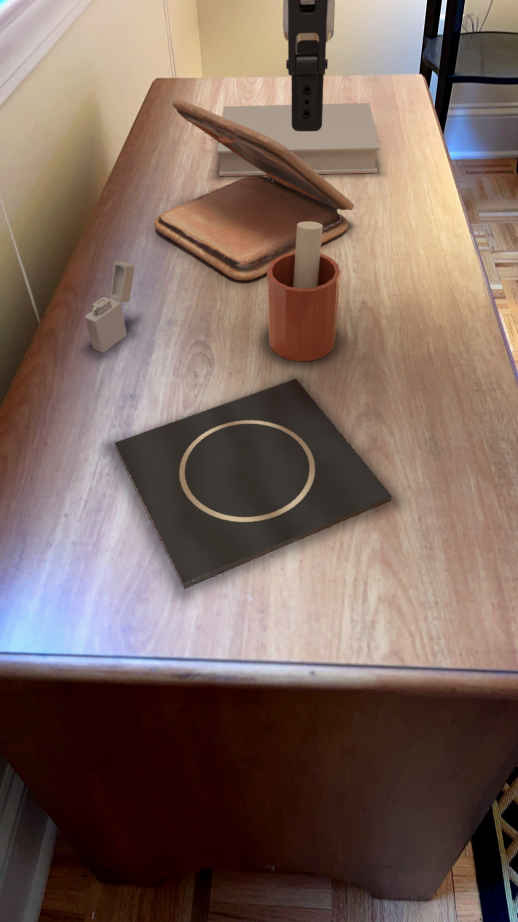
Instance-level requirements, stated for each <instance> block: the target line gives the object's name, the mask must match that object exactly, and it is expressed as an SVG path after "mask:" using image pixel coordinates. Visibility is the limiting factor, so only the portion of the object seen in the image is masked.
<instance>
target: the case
mask: <svg viewBox="0 0 518 922" xmlns="http://www.w3.org/2000/svg"><path fill="white" fill-rule="evenodd" d="M172 106H173V108H174V110H176V111H177V113H178V114H179V116H181V117H182V118H183V119H184V120H185V121H187V122H188V123H191V124H192V125H193V126H195V127H196V128H197V129H199V130H201V132H203V133H204V134H206V135H208V136H209V137H211V138H212V139H213V140H215V141H217V143H218V144H219V143H221V144H222V145H224V146H225V147H227V148H228V149H229V150H231V151H232V152H234V153H235V154H237V155H238V156H240V157H241V158H243V159H244V160H246V161H247V162H248V163H250V164H251V165H253V166H255V167H256V168H258V169H260V170H261V171H263V172H265V173H266V174H267V175H266V176H264V175H247V176H246V177H243V178H240V179H238V180H236V181H233V182H231V183H228V184H226V185H223V186H222V187H219V188H217V189H214V190H212V191H210V192H207V193H205V194H202V195H199V196H198V197H196V198H193V199H192V200H189V201H187V202H184V203H182V204H180V205H177V206H174V207H172V208H170V209H167V210H165V211H164V212H162V213H161V214H159V215H158V216H157V217H156V218H155V220H154V222H153V223H154V228H155V230H156V231H158V232H159V233H160V234H161V235H163V236H165V237H166V238H168V239H170V240H171V241H172V242H174V243H175V244H177V245H179V246H181V247H182V248H184V249H186V250H187V251H189V252H190V253H192V254H194V255H195V256H197V257H199V258H200V259H201V260H202V261H204V262H206V263H207V264H208V265H210V266H212V267H214V268H215V269H216V270H218V271H219V272H221V273H223V274H224V275H225V276H227V277H229V278H231V279H233V280H237V281H251V280H255V279H257V278H260V277H262V276H264V275H266V274H267V269H268V267H269V265H270V264H271V262H272V261H273V260H275V259H276V258H278V257H279V256H281V255H284V254H288V253H291V252H295V250H296V234H297V224H298V223H300V222H307V221H309V222H317V223H320V224H322V226H323V228H322V240H321V245H322V244H324V243H326V242H328V241H331V240H332V239H334V238H335V237H338V236H339V235H342V234H343V233H344V232H345V231H346V230H347V229H348V228H349V221H348V220H347V218H346V217H345V216H344V215H342V214H340V213H339V212H338V210H340V211H346V210H348V211H353V210H354V208H355V205H354V202H352V201H351V200H350V199H349V198H348V197H346V196H345V195H344V194H343V193H342V192H341V191H339V189H337V188H336V187H334V185H332V184H331V183H330V182H329V181H327V180H326V179H325V178H324V177H322V175H321V174H318V173H316V172H315V171H314V170H313V169H311V168H310V167H309V166H308V165H307V164H305V163H304V162H303V161H302V160H301V159H299V158H298V157H297V156H296V155H295V154H294V153H292V152H291V151H290V150H289V149H287V148H286V147H285V146H283V145H282V144H280V143H279V142H277V141H276V140H274V139H272V138H270V137H268V136H265V135H263V134H261V133H259V132H256V131H254V130H252V129H250V128H247V127H245V126H243V125H241V124H238V123H235V122H233V121H230V120H228V119H226V118H223V117H222V116H221V115H219V114H216V113H214V112H212V111H209V110H208V109H205V108H202V107H200V106H196V105H195V104H192V103H190V102H188V101H184V100H182V99H179V98H178V99H173V101H172Z"/></svg>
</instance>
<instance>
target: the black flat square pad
mask: <svg viewBox="0 0 518 922" xmlns="http://www.w3.org/2000/svg"><path fill="white" fill-rule="evenodd" d="M114 447H115V449H116V450H117V454H119V458H120V459H121V461H122V463H123V465H124V467H125V470H126V471H127V474H128V475H129V478H130V480H131V482H132V484H133V486H134V488H135V490H136V492H137V494H138V496H139V498H140V500H141V503H142V504H143V506H144V508H145V511H146V513H147V515H148V517H149V518H150V521H151V523H152V525H153V527H154V529H155V531H156V534H157V535H158V537H159V539H160V541H161V543H162V546H163V548H164V550H165V552H166V554H167V556H168V558H169V560H170V562H171V564H172V566H173V568H174V570H175V572H176V574H177V576H178V579H179V580H180V582H181V585H182V587H183V589H186V588H188V587H190V586H193V585H195V584H197V583H199V582H203V581H204V580H207V579H209V578H211V577H214V576H216V575H218V574H221V573H223V572H226V571H228V570H230V569H232V568H233V569H234V567H237V566H240V565H243V564H244V563H247V562H249V561H252V560H254V559H256V558H258V557H260V556H261V557H262V556H263V555H265V554H268V553H270V552H272V551H274V550H277V549H280V548H282V547H284V546H286V545H289V544H292V543H294V542H296V541H298V540H301V539H303V538H306V537H308V536H309V535H312V534H315V533H317V532H319V531H321V530H324V529H326V528H329V527H331V526H334V525H335V524H338V523H340V522H343V521H345V520H348V519H350V518H352V517H354V516H357V515H359V514H361V513H364V512H366V511H368V510H371V509H374V508H376V507H378V506H381V505H383V504H385V503H388V502H390V501H391V500H392V494H391V493H390V492H389V490H388V489H387V488H386V487H385V486H384V485H383V484H382V482H381V481H380V480H379V479H378V477H377V475H375V474H374V472H373V471H372V469H370V468H369V466H368V465H367V464H366V462H365V461H364V460H363V459H362V458H361V456H360V455H359V454H358V453H357V451H356V450H355V449H354V448H353V447H352V445H351V444H350V443H349V441H347V439H346V438H345V437H344V435H343V434H342V433H341V432H340V430H339V429H338V428H337V427H336V425H334V423H333V422H332V420H331V419H329V417H328V416H327V414H325V412H324V410H322V409H321V407H320V406H319V404H317V402H316V401H315V400H314V399H313V398H312V396H311V395H310V394H309V392H308V391H307V390H306V389H305V388H304V386H303V385H302V384H301V383H300V382H299V380H298V379H297V378H294V379H290V380H288V381H286V382H282V383H279V384H277V385H274V386H271V387H268V388H266V389H265V388H264V389H261V390H259V391H257V392H254V393H251V394H248V395H246V396H242V397H239V398H238V399H234V400H231V401H229V402H226V403H223V404H220V405H217V406H214V407H212V408H209V409H206V410H203V411H200V412H197V413H194V414H192V415H189V416H186V417H183V418H180V419H177V420H175V421H172V422H168V423H166V424H163V425H161V426H157V427H155V428H152V429H149V430H146V431H144V432H143V431H142V432H141V433H138V434H135V435H132V436H129V437H127V438H124V439H121V440H118V441H116V442H114Z"/></svg>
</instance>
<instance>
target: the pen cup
mask: <svg viewBox="0 0 518 922" xmlns="http://www.w3.org/2000/svg"><path fill="white" fill-rule="evenodd" d="M294 266H295V252H291V253H288V254H284V255H281V256H279V257H278V258H276V259H275V260H273V261H272V262H271V264H270V265H269V267H268V269H267V273H266V275H267V313H268V316H267V317H268V318H267V319H268V341H269V346H270V348H271V349H272V351H273V352H274V353H275V354H276V355H278V356H279V357H281V358H283V359H286V360H288V361H292V362H293V361H294V362H311V361H316V360H319V359H322V358H323V357H325V356H327V355H328V354H329V353H331V351H332V350H333V349H334V347H335V345H336V339H337V329H338V328H337V326H338V314H339V313H338V312H339V311H338V310H339V297H340V280H341V270H340V266H339V263H337V262H336V261H335V260H334V259H333V258H332V257H330V256H328V255H326V254H323V253H322V252H320V263H319V275H318V287H314V288H303V289H300V288H294V287H293V282H294Z"/></svg>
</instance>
